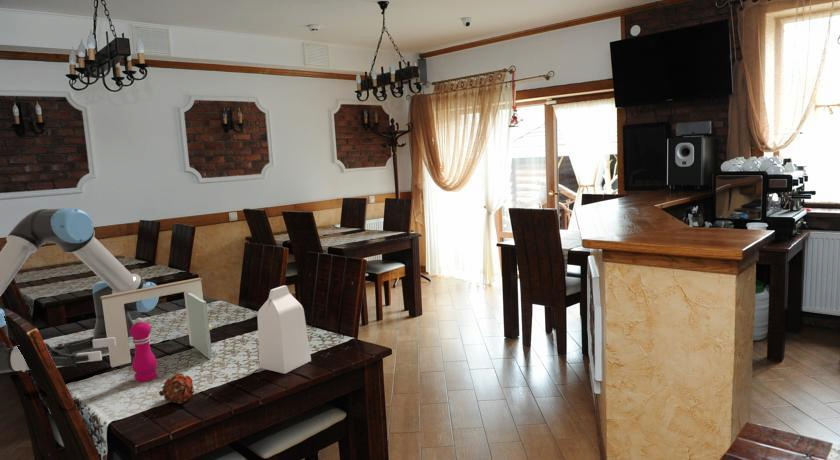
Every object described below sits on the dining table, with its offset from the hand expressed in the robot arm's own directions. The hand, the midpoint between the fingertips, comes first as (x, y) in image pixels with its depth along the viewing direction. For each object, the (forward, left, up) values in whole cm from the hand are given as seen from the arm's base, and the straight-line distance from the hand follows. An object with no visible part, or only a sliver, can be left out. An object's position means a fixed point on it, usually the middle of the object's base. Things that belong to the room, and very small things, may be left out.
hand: (108, 348), depth 175 cm
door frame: (-16, +20, -11) cm, 28 cm away
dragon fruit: (+31, +10, -12) cm, 34 cm away
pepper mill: (+5, +9, -12) cm, 15 cm away
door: (-5, +31, -11) cm, 33 cm away
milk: (+30, +45, -12) cm, 55 cm away
